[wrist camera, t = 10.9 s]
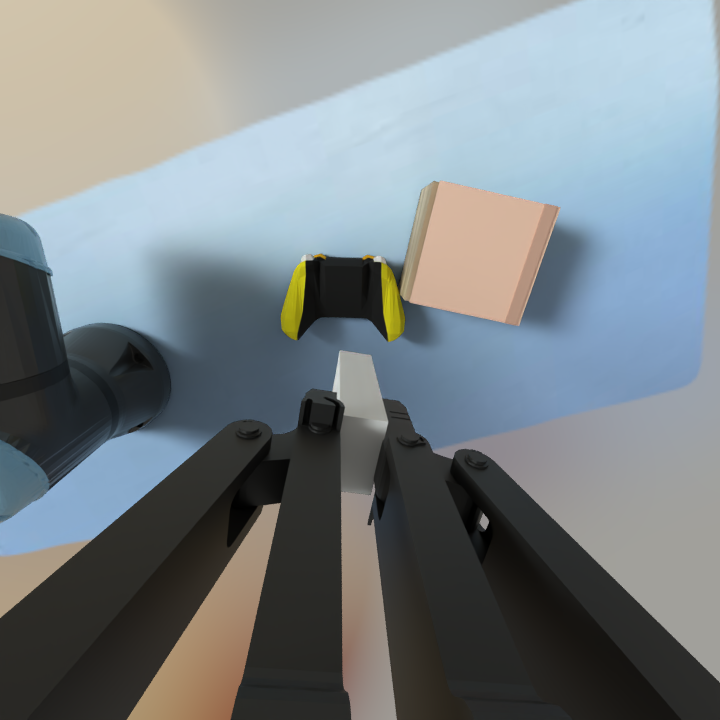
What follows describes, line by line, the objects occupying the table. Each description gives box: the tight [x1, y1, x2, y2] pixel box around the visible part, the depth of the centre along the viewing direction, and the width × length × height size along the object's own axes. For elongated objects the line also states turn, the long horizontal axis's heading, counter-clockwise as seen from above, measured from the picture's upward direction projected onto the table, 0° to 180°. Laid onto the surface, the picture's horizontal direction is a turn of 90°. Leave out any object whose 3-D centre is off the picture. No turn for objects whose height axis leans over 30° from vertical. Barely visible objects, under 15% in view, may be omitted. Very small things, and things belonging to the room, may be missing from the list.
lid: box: [409, 181, 560, 326], centre depth 37 cm, size 12×12×1 cm
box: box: [398, 181, 439, 301], centre depth 41 cm, size 12×12×7 cm
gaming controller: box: [281, 254, 405, 342], centre depth 44 cm, size 15×6×10 cm
